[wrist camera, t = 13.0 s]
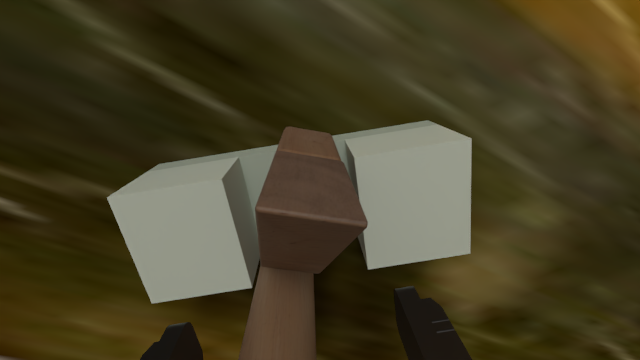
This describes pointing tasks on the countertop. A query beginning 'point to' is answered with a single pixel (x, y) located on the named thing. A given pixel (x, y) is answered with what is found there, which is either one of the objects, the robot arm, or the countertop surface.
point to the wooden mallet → (298, 242)
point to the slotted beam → (244, 190)
